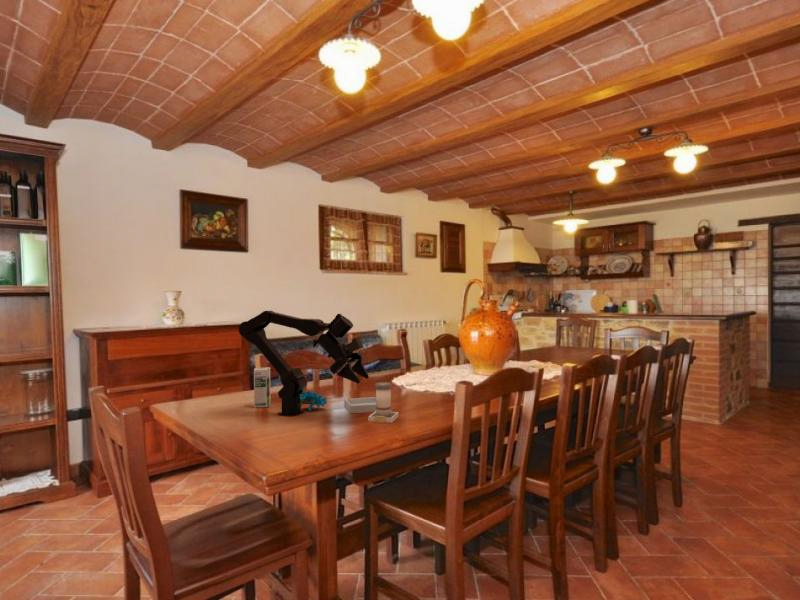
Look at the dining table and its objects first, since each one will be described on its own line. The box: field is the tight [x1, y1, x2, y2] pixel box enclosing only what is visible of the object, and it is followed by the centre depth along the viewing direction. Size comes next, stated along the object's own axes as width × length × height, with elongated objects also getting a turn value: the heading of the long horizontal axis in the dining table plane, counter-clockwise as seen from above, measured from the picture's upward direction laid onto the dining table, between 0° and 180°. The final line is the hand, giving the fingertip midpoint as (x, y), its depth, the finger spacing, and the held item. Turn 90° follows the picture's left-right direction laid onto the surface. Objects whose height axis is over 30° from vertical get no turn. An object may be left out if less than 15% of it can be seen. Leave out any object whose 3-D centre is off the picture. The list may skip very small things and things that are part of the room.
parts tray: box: [343, 396, 376, 414], centre depth 174 cm, size 13×13×2 cm
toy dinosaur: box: [300, 390, 328, 412], centre depth 171 cm, size 11×6×10 cm
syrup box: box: [253, 366, 271, 409], centre depth 179 cm, size 6×6×14 cm
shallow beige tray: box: [367, 409, 399, 424], centre depth 158 cm, size 8×10×2 cm
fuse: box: [375, 381, 392, 418], centre depth 158 cm, size 5×5×12 cm
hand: (363, 380), depth 160 cm, fingers open, 9 cm apart
